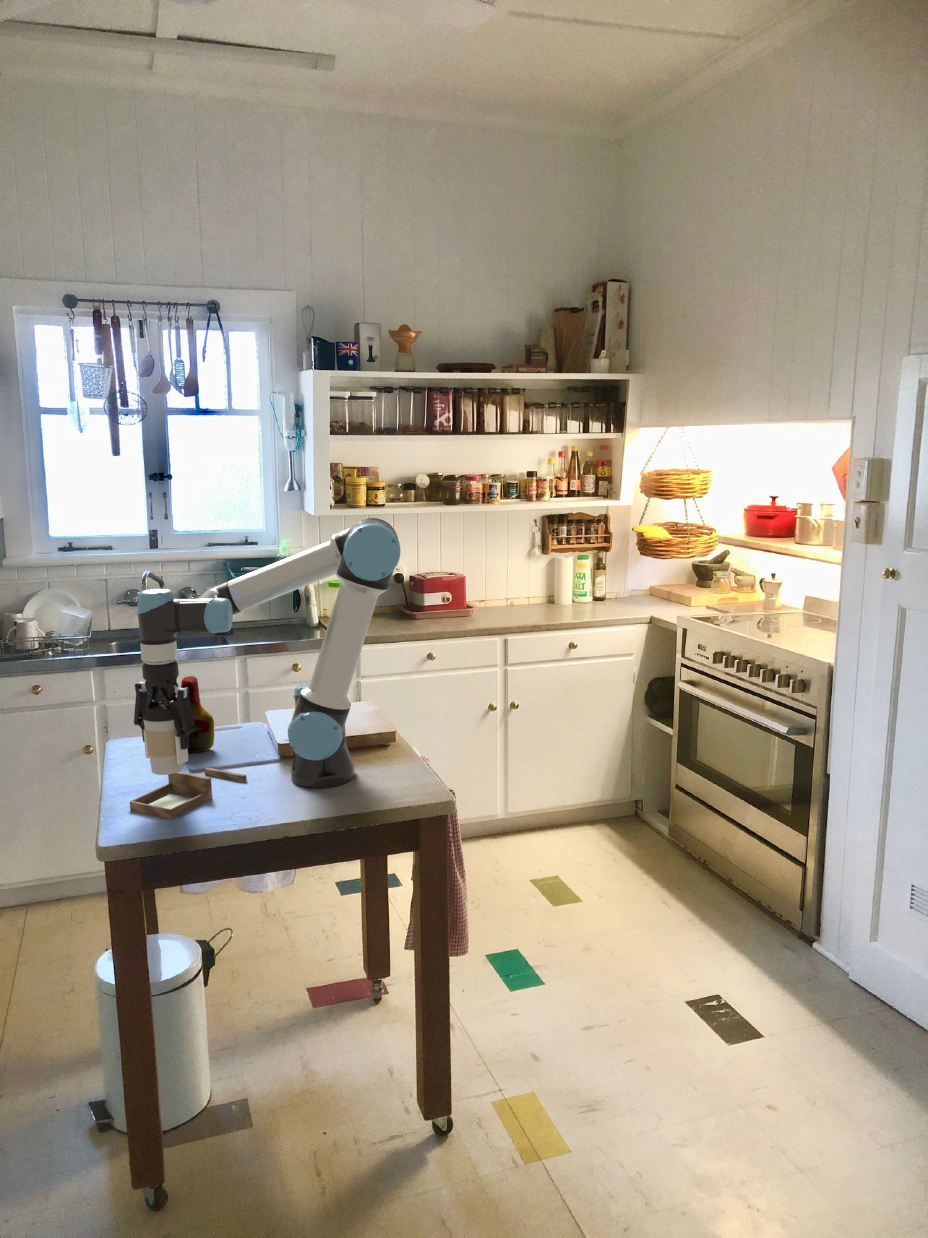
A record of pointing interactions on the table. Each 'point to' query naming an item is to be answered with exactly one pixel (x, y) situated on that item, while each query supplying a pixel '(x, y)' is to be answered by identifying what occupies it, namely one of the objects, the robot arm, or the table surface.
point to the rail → (225, 774)
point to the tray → (175, 796)
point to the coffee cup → (161, 740)
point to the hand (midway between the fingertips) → (166, 759)
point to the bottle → (199, 719)
